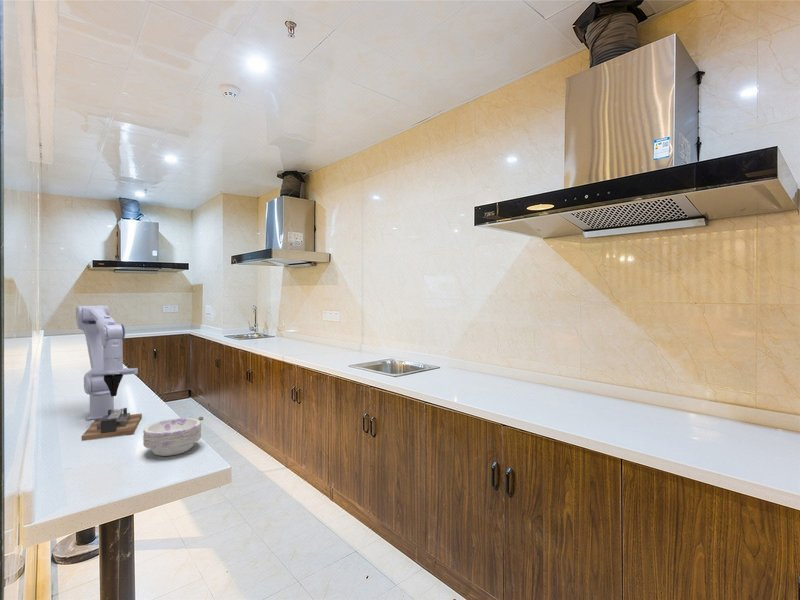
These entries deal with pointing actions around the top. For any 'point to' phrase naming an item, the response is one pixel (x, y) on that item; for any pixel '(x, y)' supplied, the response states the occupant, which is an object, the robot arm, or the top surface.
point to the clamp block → (113, 422)
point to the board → (121, 431)
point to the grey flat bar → (115, 414)
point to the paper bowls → (172, 436)
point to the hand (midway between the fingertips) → (113, 395)
